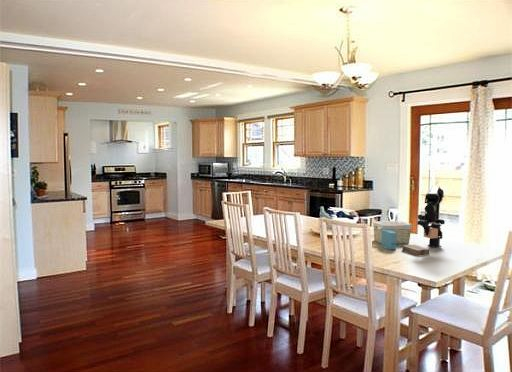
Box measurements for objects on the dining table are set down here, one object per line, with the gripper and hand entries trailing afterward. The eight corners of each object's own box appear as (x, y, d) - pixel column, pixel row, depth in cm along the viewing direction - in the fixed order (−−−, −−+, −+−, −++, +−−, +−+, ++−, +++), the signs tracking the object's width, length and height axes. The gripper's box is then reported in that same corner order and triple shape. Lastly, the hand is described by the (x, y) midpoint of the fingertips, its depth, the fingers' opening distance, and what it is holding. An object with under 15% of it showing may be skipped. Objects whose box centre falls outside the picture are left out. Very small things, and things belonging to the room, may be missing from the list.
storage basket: (400, 239, 309) (401, 220, 308) (412, 244, 293) (413, 224, 292) (371, 240, 305) (372, 221, 304) (381, 245, 289) (382, 224, 288)
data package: (396, 249, 274) (397, 232, 273) (390, 250, 273) (391, 233, 272) (386, 246, 286) (387, 229, 285) (381, 246, 285) (381, 229, 284)
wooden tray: (414, 250, 275) (414, 244, 275) (429, 255, 262) (429, 249, 262) (402, 251, 272) (402, 245, 272) (416, 256, 259) (417, 250, 259)
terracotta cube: (430, 236, 268) (430, 227, 268) (437, 237, 263) (437, 228, 262) (423, 236, 266) (423, 227, 265) (430, 238, 260) (431, 229, 260)
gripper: (432, 209, 274) (431, 232, 275) (411, 210, 267) (410, 234, 268) (445, 211, 264) (444, 235, 265) (424, 213, 257) (423, 237, 258)
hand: (430, 235), depth 264 cm, fingers closed on terracotta cube, 6 cm apart
